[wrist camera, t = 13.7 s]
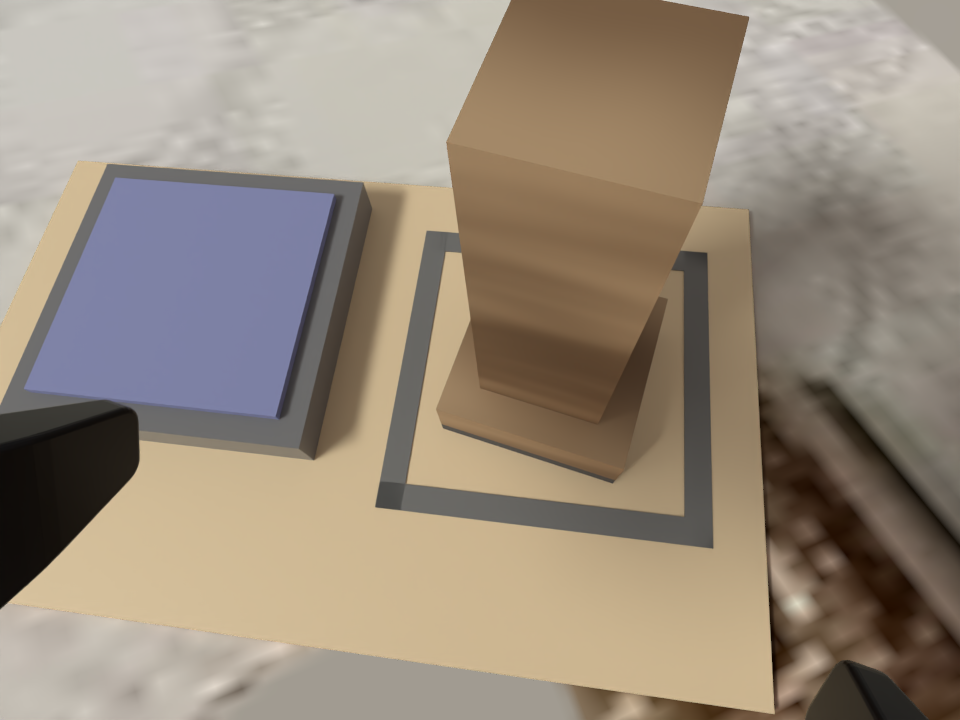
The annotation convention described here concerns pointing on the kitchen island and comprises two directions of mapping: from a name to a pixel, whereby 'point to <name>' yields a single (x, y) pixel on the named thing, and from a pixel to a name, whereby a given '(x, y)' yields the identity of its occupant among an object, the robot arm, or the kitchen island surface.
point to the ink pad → (202, 307)
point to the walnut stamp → (579, 215)
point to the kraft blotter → (456, 493)
